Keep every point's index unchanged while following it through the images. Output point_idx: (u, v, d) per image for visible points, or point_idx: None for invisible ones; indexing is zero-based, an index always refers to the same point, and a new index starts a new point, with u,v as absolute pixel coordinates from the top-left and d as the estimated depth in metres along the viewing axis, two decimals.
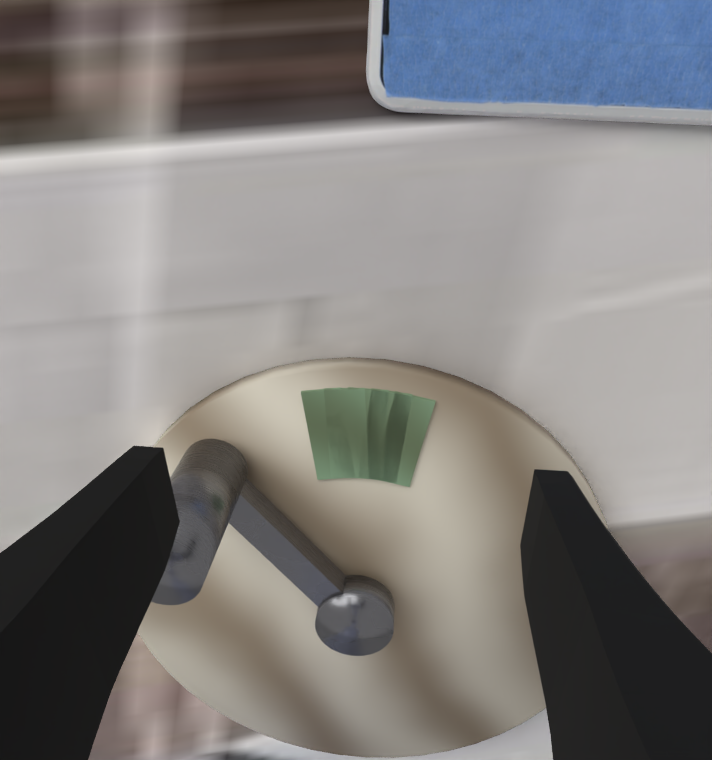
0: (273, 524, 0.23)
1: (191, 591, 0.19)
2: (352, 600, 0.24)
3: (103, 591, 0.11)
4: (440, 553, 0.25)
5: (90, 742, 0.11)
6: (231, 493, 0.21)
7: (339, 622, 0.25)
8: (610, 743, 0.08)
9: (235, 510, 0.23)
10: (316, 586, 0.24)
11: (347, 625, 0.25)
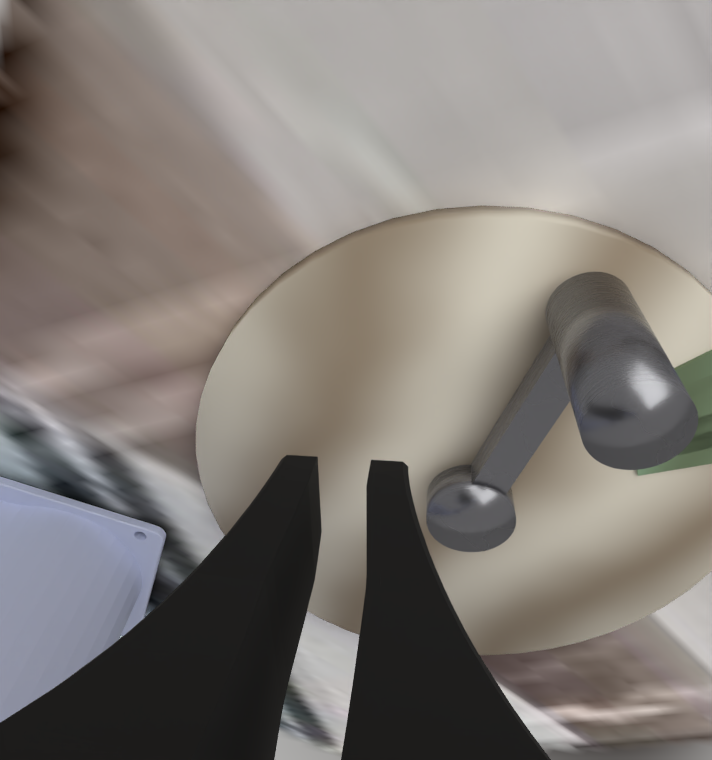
0: (564, 407, 0.19)
1: (623, 462, 0.15)
2: (507, 508, 0.22)
3: (284, 605, 0.10)
4: (564, 524, 0.24)
5: None
6: None
7: (469, 508, 0.22)
8: None
9: None
10: (501, 472, 0.21)
11: (469, 516, 0.22)
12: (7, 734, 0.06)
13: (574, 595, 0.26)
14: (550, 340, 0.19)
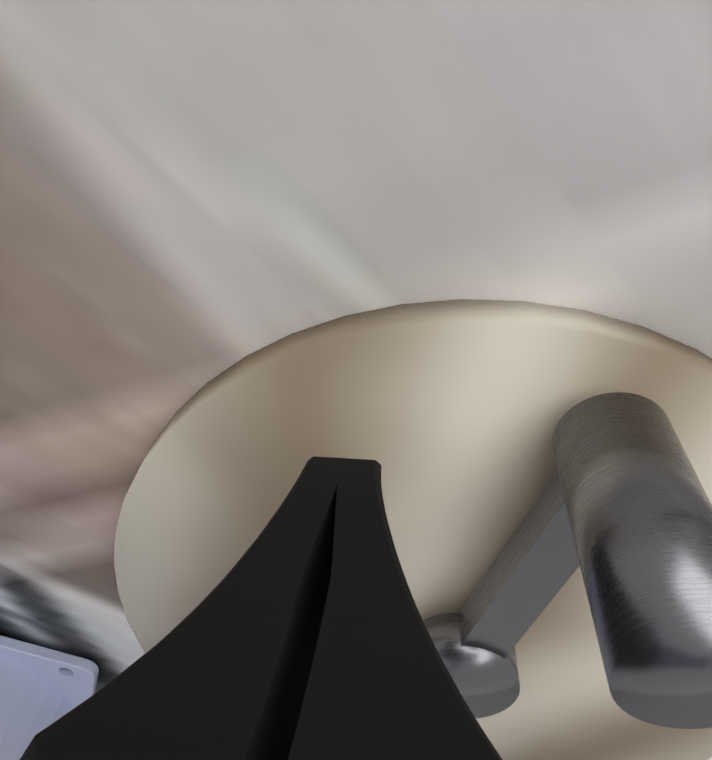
0: None
1: (673, 720, 0.10)
2: (508, 674, 0.17)
3: (315, 608, 0.10)
4: (581, 672, 0.19)
5: None
6: None
7: (459, 673, 0.17)
8: None
9: None
10: (498, 633, 0.16)
11: (460, 681, 0.17)
12: (56, 739, 0.06)
13: (596, 745, 0.21)
14: (559, 477, 0.14)
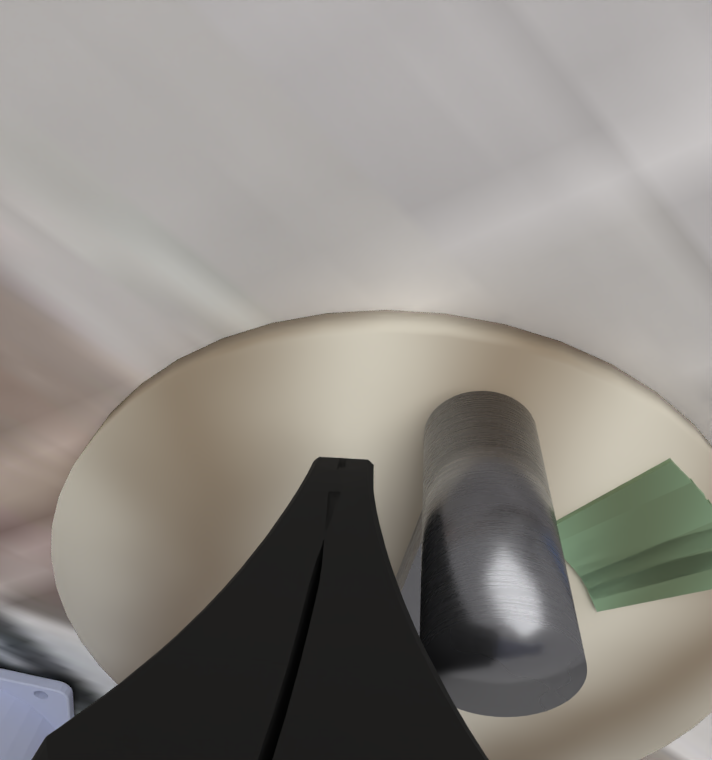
0: None
1: (494, 709, 0.10)
2: None
3: None
4: None
5: None
6: None
7: None
8: None
9: None
10: None
11: None
12: (67, 740, 0.06)
13: (552, 738, 0.21)
14: None
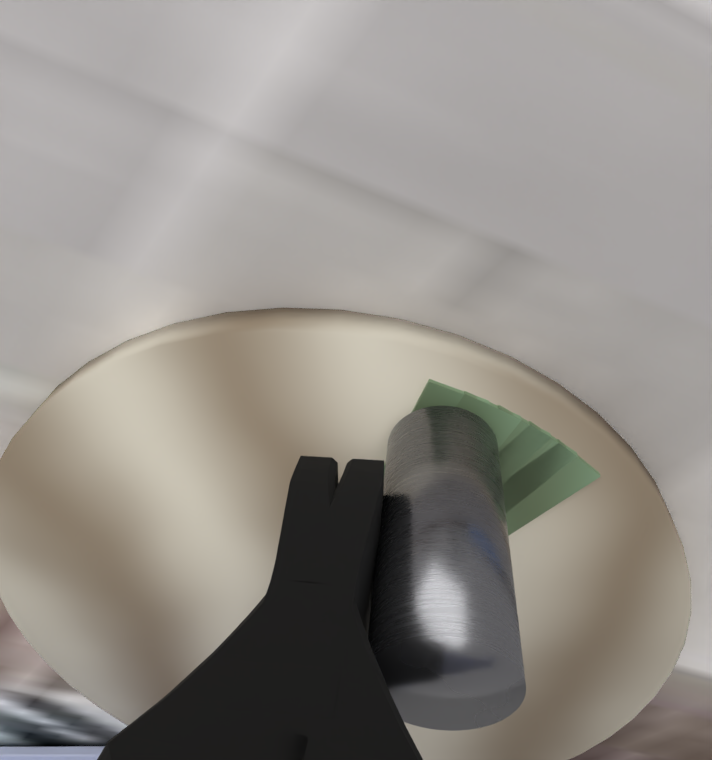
0: None
1: (430, 722, 0.10)
2: None
3: (362, 612, 0.10)
4: None
5: None
6: None
7: None
8: None
9: None
10: None
11: None
12: (130, 746, 0.06)
13: (550, 692, 0.20)
14: None
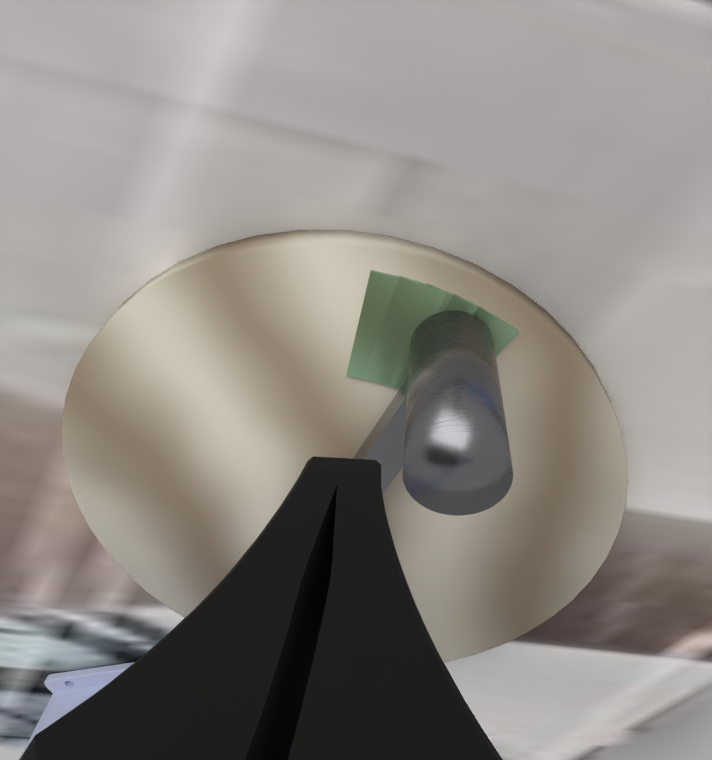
0: None
1: (443, 507, 0.15)
2: None
3: (315, 608, 0.10)
4: None
5: None
6: None
7: None
8: None
9: None
10: None
11: None
12: (56, 739, 0.06)
13: (531, 541, 0.24)
14: None
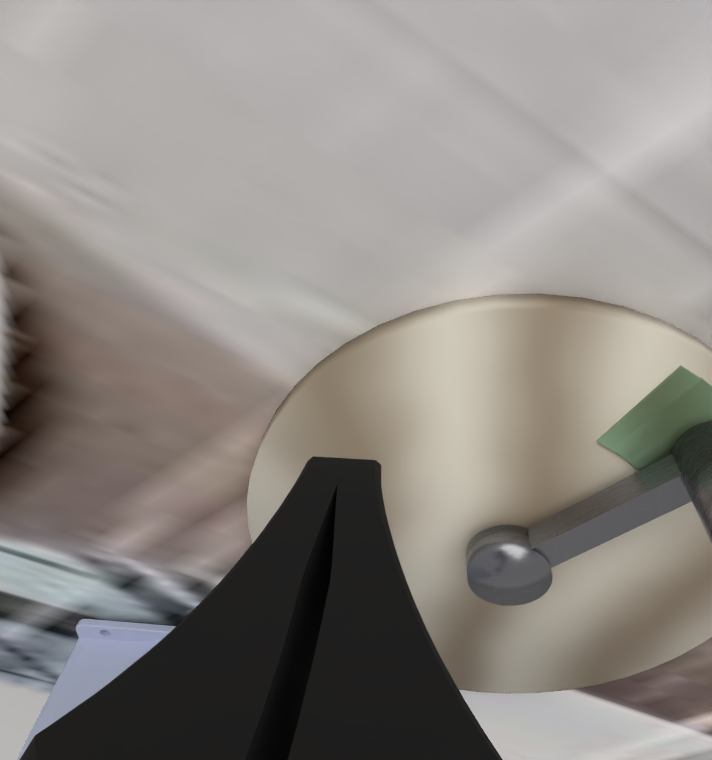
0: (650, 518, 0.22)
1: None
2: (548, 579, 0.23)
3: (315, 608, 0.10)
4: (610, 554, 0.25)
5: None
6: None
7: (517, 568, 0.23)
8: None
9: (679, 491, 0.21)
10: (562, 549, 0.23)
11: (512, 574, 0.23)
12: (56, 739, 0.06)
13: (652, 614, 0.26)
14: (670, 460, 0.21)
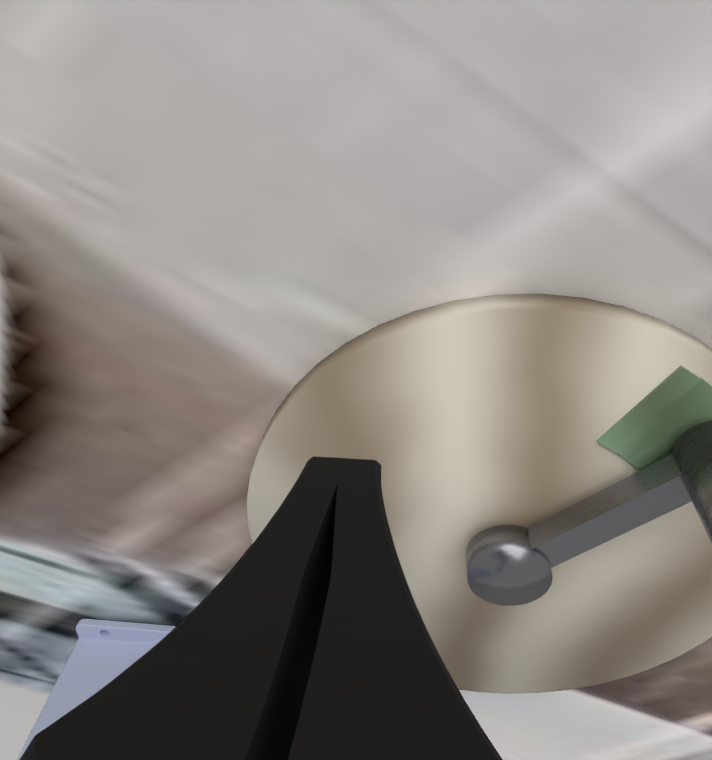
0: (650, 518, 0.22)
1: None
2: (548, 579, 0.23)
3: (315, 608, 0.10)
4: (610, 554, 0.25)
5: None
6: None
7: (517, 568, 0.23)
8: None
9: (679, 491, 0.21)
10: (562, 549, 0.23)
11: (512, 574, 0.23)
12: (56, 739, 0.06)
13: (652, 614, 0.26)
14: (670, 460, 0.21)
